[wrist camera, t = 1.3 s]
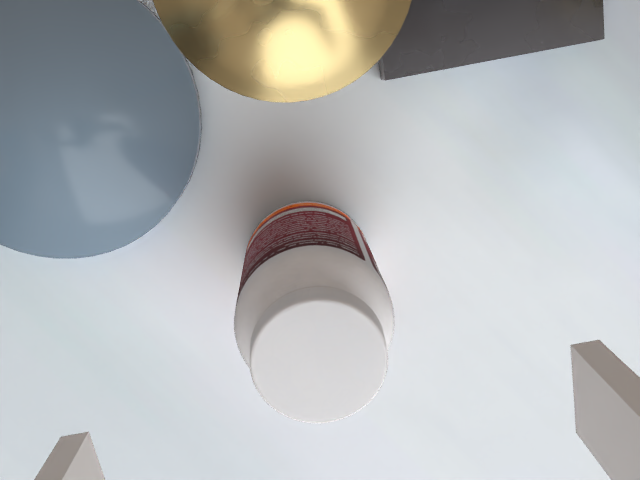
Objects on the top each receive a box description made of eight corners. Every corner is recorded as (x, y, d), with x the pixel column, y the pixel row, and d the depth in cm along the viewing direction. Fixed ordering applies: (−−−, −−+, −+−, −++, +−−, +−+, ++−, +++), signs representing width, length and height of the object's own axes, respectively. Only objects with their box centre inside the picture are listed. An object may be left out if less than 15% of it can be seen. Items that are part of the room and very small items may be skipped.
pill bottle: (220, 263, 30) (185, 371, 20) (302, 172, 29) (310, 236, 19) (312, 336, 32) (324, 474, 21) (393, 252, 31) (448, 354, 20)
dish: (-29, 272, 30) (-42, 281, 29) (-133, -5, 26) (-153, -8, 25) (228, 224, 30) (226, 230, 29) (162, -61, 26) (156, -67, 25)
